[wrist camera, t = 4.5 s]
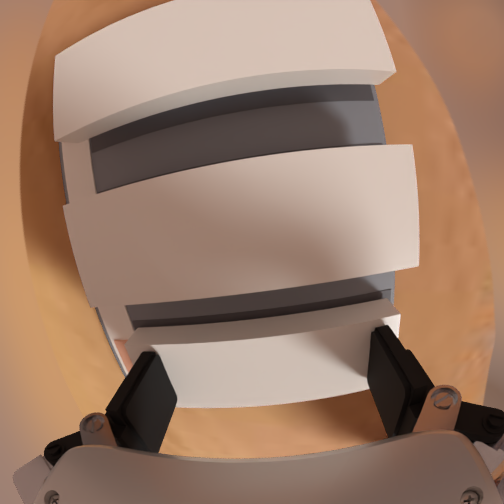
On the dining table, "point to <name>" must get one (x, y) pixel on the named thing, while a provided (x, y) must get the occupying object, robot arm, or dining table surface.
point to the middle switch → (249, 226)
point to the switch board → (219, 151)
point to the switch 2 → (268, 356)
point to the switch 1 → (212, 58)
